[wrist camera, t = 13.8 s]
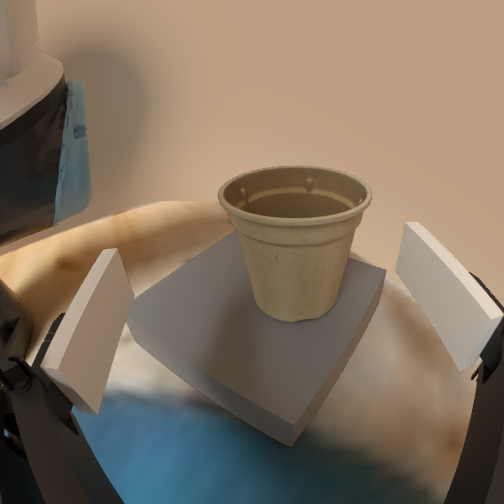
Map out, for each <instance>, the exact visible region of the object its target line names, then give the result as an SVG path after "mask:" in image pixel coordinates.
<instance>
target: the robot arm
mask: <svg viewBox="0 0 504 504" xmlns="http://www.w3.org/2000/svg"><path fill="white" fill-rule="evenodd" d="M36 14H37V13H36V0H0V247H2V246H4V245H7V244H9V243H12V242H14V241H17V240H19V239H21V238H24V237H26V236H29V235H32V234H34V233H37V232H39V231H42V230H45V229H47V228H50V227H55V226H57V225H58V223H60V222H62V221H64V220H66V219H68V218H71V217H73V216H75V215H77V214H80V213H81V212H83V211H84V210H85V209H86V208H87V207H88V205H89V203H90V201H91V198H92V184H91V174H90V173H91V172H90V162H89V151H88V141H87V134H86V108H85V90H84V84H83V82H82V81H80V80H76V81H74V80H68V81H67V82H66V83H65V78H64V71H63V66H62V64H61V62H60V61H58V60H56V59H54V58H52V57H50V56H48V55H46V54H43V53H42V52H41V50H40V44H39V36H38V26H37V15H36ZM395 271H396V273H397V274H398V275H399V277H400V278H401V280H402V281H403V283H404V284H405V285H406V287H407V288H408V290H409V291H410V293H411V294H412V296H413V297H414V299H415V300H416V301H417V303H418V304H419V306H420V308H421V309H422V311H423V312H424V314H425V315H426V317H427V318H428V320H429V321H430V323H431V325H432V326H433V328H434V329H435V331H436V333H437V334H438V336H439V337H440V339H441V341H442V342H443V344H444V346H445V347H446V349H447V351H448V353H449V354H450V356H451V358H452V359H453V361H454V363H455V365H456V367H457V368H458V370H459V371H461V370H464V369H466V368H469V367H471V366H473V364H474V363H475V361H476V360H477V359H478V357H479V356H480V357H481V359H482V360H483V361H482V362H481V364H480V365H479V367H478V368H477V370H476V371H475V372H474V374H473V375H472V377H471V380H473V379H474V378H475V377H476V375H477V374H478V378H477V380H476V381H477V387H476V393H475V399H474V404H473V409H472V414H471V419H470V423H469V427H468V432H467V436H466V439H465V443H464V447H463V450H462V454H461V457H460V460H459V463H458V466H457V469H456V472H455V475H454V478H453V481H452V483H451V486H450V489H449V491H448V494H447V496H446V499H445V501H444V503H443V504H504V307H503V306H502V305H501V304H500V302H499V301H498V300H497V299H496V298H495V296H494V295H493V294H491V292H490V291H489V289H488V288H486V287H485V285H484V284H483V282H482V281H481V280H480V279H479V278H478V277H476V276H475V275H473V274H472V273H470V272H468V271H467V270H466V269H465V268H464V267H463V266H462V265H461V264H460V263H459V262H458V261H457V260H456V259H455V257H454V256H453V255H452V254H451V253H450V252H449V251H448V250H447V249H446V248H445V247H444V246H443V245H442V244H441V243H440V242H439V241H438V240H437V239H435V237H434V236H433V235H432V234H430V233H429V232H428V231H427V230H426V229H425V228H424V227H423V226H422V225H421V224H420V223H419V222H405V226H404V232H403V237H402V242H401V246H400V251H399V256H398V260H397V264H396V269H395ZM133 299H134V293H133V290H132V288H131V285H130V282H129V280H128V277H127V274H126V271H125V268H124V266H123V263H122V260H121V257H120V254H119V251H118V248H113V249H104V250H103V251H102V252H101V254H100V255H99V257H98V259H97V260H96V262H95V263H94V265H93V267H92V268H91V270H90V272H89V273H88V275H87V277H86V278H85V280H84V282H83V283H82V285H81V287H80V289H79V290H78V292H77V294H76V296H75V297H74V299H73V301H72V303H71V305H70V306H69V308H68V310H67V312H66V313H61V314H60V315H59V316H58V318H57V319H56V320H55V321H54V322H53V323H52V325H51V327H50V329H49V331H48V334H47V335H46V337H45V339H44V342H43V343H42V345H41V347H40V349H39V351H38V353H37V355H36V357H35V360H34V362H33V364H32V366H31V367H30V366H29V365H28V363H27V362H26V361H25V359H24V358H23V356H24V354H25V352H26V350H27V348H28V345H29V343H30V339H31V336H32V329H33V324H32V318H31V315H30V314H29V312H28V310H27V309H26V307H25V305H24V303H23V302H22V300H21V299H20V298H19V297H18V296H17V295H16V294H15V293H14V292H13V291H12V290H11V289H10V288H9V287H8V286H7V285H6V284H5V283H4V282H3V281H2V280H1V279H0V384H3V385H4V386H0V504H125V503H124V502H123V500H122V499H121V498H120V496H119V495H118V493H117V492H116V490H115V489H114V487H113V486H112V484H111V482H110V481H109V479H108V478H107V476H106V474H105V473H104V471H103V469H102V468H101V466H100V464H99V463H98V461H97V459H96V457H95V455H94V454H93V452H92V450H91V448H90V446H89V444H88V442H87V440H86V439H85V437H84V435H83V433H82V430H81V428H80V426H79V424H78V422H77V420H76V418H75V416H74V415H73V413H72V412H71V410H72V406H73V405H74V406H75V407H76V408H77V409H78V410H79V411H80V412H81V413H87V414H93V415H98V413H99V409H100V405H101V401H102V398H103V394H104V390H105V386H106V383H107V379H108V376H109V372H110V369H111V365H112V362H113V359H114V355H115V352H116V349H117V346H118V343H119V340H120V336H121V333H122V330H123V327H124V324H125V322H126V319H127V316H128V313H129V310H130V307H131V304H132V302H133ZM4 429H5V430H7V431H8V437H6V436H5V435H4Z"/></svg>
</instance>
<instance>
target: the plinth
mask: <svg viewBox="0 0 504 504" xmlns="http://www.w3.org/2000/svg"><path fill="white" fill-rule="evenodd" d="M385 275H386V270H385V269H382V268H379V267H376V266H372V265H369V264H366V263H363V262H360V261H357V260H353V259H350V258H348V259H347V263H346V266H345V270H344V273H343V276H342V280H341V283H340V287H339V290H338V294H337V298H336V301H335V303H334V305H333V307H332V308H331V309H330V310H329V311H328V312H327V313H326V314H324V315H323V316H321V317H319V318H317V319H304V320H300V321H297V322H285V321H281V320H278V319H275V318H273V317H271V316H269V315H267V314H266V313H264V312H263V311H262V310H261V309H260V308H259V306H258V305H257V303H256V300H255V298H254V294H253V289H252V285H251V281H250V278H249V274H248V270H247V267H246V263H245V259H244V256H243V252H242V249H241V245H240V241H239V238H238V234H237V231H236V230H235V231H234V232H232V233H231V234H229V235H228V236H226V237H225V238H223V239H222V240H220V241H219V242H217V243H216V244H214V245H213V246H211V247H210V248H208V249H207V250H205V251H204V252H202V253H201V254H199V255H198V256H196V257H195V258H193V259H192V260H190V261H189V262H187V263H186V264H184V265H183V266H181V267H180V268H178V269H177V270H176V271H174V272H173V273H171V274H170V275H168V276H167V277H165V278H164V279H162V280H161V281H159V282H158V283H156V284H155V285H154V286H152V287H151V288H149V289H148V290H146V291H145V292H143V293H142V294H141V295H139V296H138V297H136V298H135V299H133V302H132V304H131V307H130V310H129V313H128V316H127V319H126V323H127V325H128V327H129V329H130V331H131V333H132V335H133V337H134V339H135V341H136V342H137V343H138V344H139V345H140V346H141V347H143V348H144V349H145V350H146V351H147V352H149V353H150V354H151V355H152V356H153V357H155V358H156V359H157V360H158V361H160V362H161V363H162V364H163V365H165V366H166V367H167V368H168V369H170V370H171V371H172V372H174V373H175V374H176V375H177V376H179V377H180V378H181V379H183V380H184V381H185V382H187V383H188V384H190V385H191V386H192V387H194V388H195V389H196V390H198V391H199V392H201V393H202V394H203V395H205V396H206V397H208V398H209V399H211V400H212V401H214V402H215V403H217V404H218V405H220V406H221V407H223V408H224V409H226V410H227V411H229V412H230V413H232V414H233V415H235V416H237V417H238V418H240V419H241V420H243V421H245V422H246V423H248V424H249V425H251V426H253V427H254V428H256V429H258V430H260V431H261V432H263V433H265V434H266V435H268V436H270V437H272V438H274V439H275V440H277V441H279V442H281V443H283V444H284V445H286V446H288V447H290V448H291V447H292V446H293V444H294V443H295V442H296V440H297V439H298V437H299V436H300V435H301V433H302V432H303V431H304V429H305V428H306V426H307V425H308V423H309V422H310V421H311V419H312V418H313V416H314V415H315V413H316V412H317V410H318V409H319V407H320V406H321V404H322V403H323V401H324V400H325V398H326V397H327V395H328V393H329V392H330V390H331V389H332V387H333V385H334V384H335V382H336V381H337V379H338V377H339V376H340V374H341V372H342V371H343V369H344V367H345V365H346V364H347V362H348V360H349V359H350V357H351V355H352V353H353V351H354V350H355V348H356V346H357V344H358V342H359V341H360V339H361V337H362V335H363V333H364V331H365V329H366V327H367V325H368V323H369V322H370V320H371V318H372V316H373V314H374V312H375V310H376V308H377V305H378V303H379V299H380V295H381V291H382V287H383V283H384V279H385Z"/></svg>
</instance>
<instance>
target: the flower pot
mask: <svg viewBox="0 0 504 504" xmlns="http://www.w3.org/2000/svg"><path fill="white" fill-rule="evenodd" d="M218 199H219V202H220V204H221V206H222V207H223V208H224V209H225V210H226V211H227V212H228V215H229V219H230V222H231V224H232V225H233V226H234V228H235V229H236V231H237V234H238V238H239V241H240V245H241V249H242V252H243V256H244V259H245V263H246V267H247V270H248V274H249V278H250V281H251V285H252V289H253V294H254V298H255V300H256V303H257V305H258V306H259V308H260V309H261V310H262V311H263V312H264V313H266V314H267V315H269V316H271V317H273V318H275V319H278V320H281V321H285V322H297V321H300V320H304V319H317V318H319V317H321V316H323V315H324V314H326V313H327V312H328V311H329V310H330V309H331V308H332V307H333V305H334V303H335V301H336V298H337V294H338V290H339V287H340V283H341V280H342V276H343V273H344V270H345V266H346V263H347V259H348V255H349V252H350V248H351V244H352V240H353V237H354V233H355V229H356V228H357V227H358V225H359V224H360V222H361V219H362V215H363V211H364V210H365V209H366V208H367V207H368V206H369V205H370V203H371V200H372V191H371V189H370V188H369V186H368V185H367V184H366V183H365V182H364V181H362V180H361V179H359V178H357V177H355V176H353V175H350V174H347V173H345V172H342V171H338V170H333V169H328V168H322V167H313V166H279V167H270V168H263V169H258V170H254V171H250V172H247V173H243V174H241V175H239V176H236V177H234V178H232V179H231V180H229V181H228V182H226V183H225V184H224V185H223V186H222V187H221V188H220V190H219V192H218Z"/></svg>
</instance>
